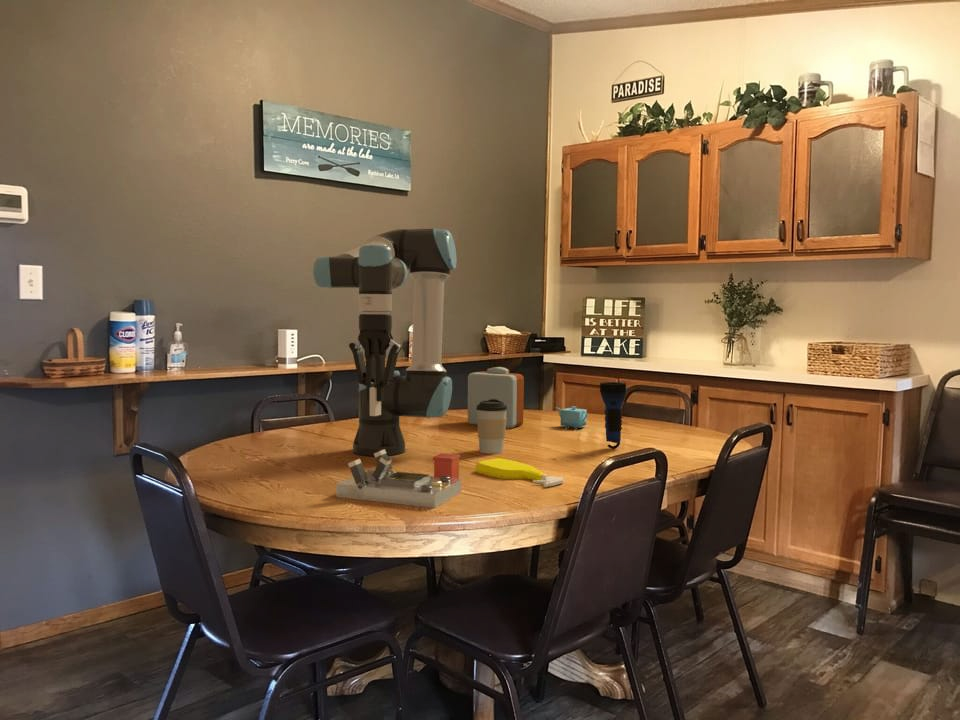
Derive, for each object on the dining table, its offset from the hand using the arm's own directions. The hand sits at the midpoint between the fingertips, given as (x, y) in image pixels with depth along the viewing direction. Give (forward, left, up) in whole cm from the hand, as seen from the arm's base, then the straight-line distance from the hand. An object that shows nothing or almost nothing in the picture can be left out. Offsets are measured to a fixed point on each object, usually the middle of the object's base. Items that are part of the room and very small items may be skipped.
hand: (375, 415), depth 181 cm
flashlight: (+42, +71, -18) cm, 85 cm away
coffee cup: (+10, +53, -18) cm, 57 cm away
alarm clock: (-5, +99, -18) cm, 101 cm away
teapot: (+21, +105, -18) cm, 109 cm away
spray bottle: (+28, +25, -18) cm, 41 cm away
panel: (+8, -3, -17) cm, 19 cm away
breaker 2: (+2, +3, -14) cm, 15 cm away
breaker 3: (+2, -3, -14) cm, 15 cm away
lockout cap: (+14, +10, -17) cm, 24 cm away
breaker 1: (+2, -9, -14) cm, 17 cm away
